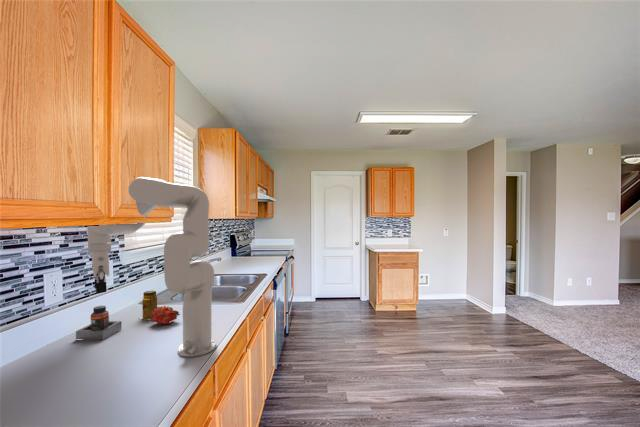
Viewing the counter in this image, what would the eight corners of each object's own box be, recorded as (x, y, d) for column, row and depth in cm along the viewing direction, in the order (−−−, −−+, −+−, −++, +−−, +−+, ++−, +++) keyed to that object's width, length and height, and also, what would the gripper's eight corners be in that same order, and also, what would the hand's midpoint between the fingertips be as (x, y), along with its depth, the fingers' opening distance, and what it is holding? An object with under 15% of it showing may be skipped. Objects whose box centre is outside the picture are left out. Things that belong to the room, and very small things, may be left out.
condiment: (138, 318, 136) (138, 292, 136) (154, 312, 144) (154, 288, 144) (149, 320, 133) (149, 294, 133) (165, 314, 141) (165, 290, 141)
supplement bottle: (110, 330, 121) (110, 303, 122) (107, 336, 116) (107, 307, 116) (92, 333, 119) (92, 305, 119) (88, 339, 114) (88, 310, 114)
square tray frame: (103, 340, 112) (103, 331, 112) (75, 340, 112) (75, 331, 112) (121, 329, 123) (121, 321, 123) (96, 329, 123) (96, 321, 123)
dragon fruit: (148, 328, 129) (177, 329, 132) (145, 322, 122) (176, 323, 125) (153, 308, 134) (182, 310, 137) (151, 302, 127) (180, 304, 130)
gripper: (113, 248, 114) (114, 292, 113) (109, 245, 127) (109, 285, 127) (88, 250, 109) (89, 296, 109) (87, 247, 122) (87, 288, 122)
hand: (100, 290), depth 118 cm, fingers open, 9 cm apart
